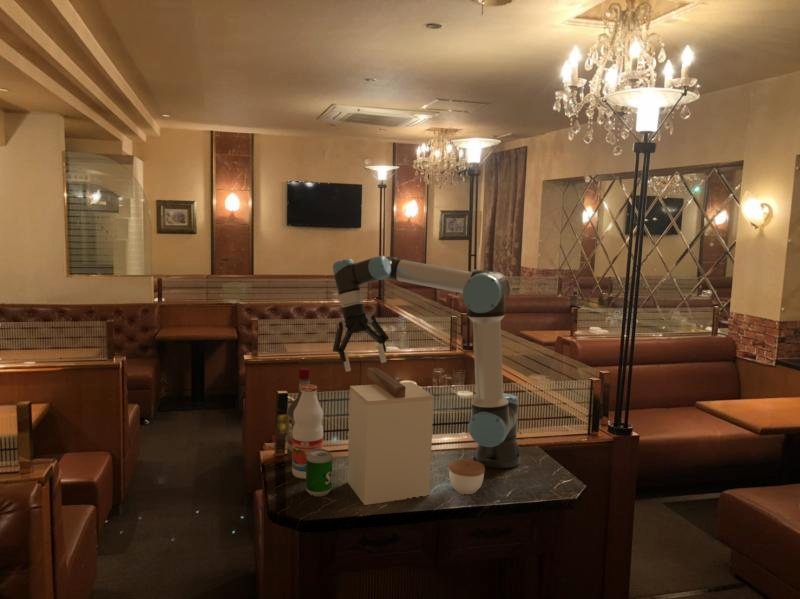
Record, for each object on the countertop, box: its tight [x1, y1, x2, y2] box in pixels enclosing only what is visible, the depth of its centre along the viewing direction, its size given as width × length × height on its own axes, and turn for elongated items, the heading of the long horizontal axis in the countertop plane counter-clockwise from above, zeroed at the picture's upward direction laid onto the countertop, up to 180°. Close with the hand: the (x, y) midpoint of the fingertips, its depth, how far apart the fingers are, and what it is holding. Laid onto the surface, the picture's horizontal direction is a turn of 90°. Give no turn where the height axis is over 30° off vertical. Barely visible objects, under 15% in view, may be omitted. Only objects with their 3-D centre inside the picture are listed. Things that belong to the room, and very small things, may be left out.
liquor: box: [286, 367, 311, 460], centre depth 205 cm, size 9×9×30 cm
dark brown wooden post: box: [366, 366, 406, 398], centre depth 185 cm, size 3×24×3 cm, turn 22°
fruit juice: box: [291, 383, 324, 480], centre depth 192 cm, size 9×9×28 cm
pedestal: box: [346, 381, 435, 506], centre depth 182 cm, size 20×16×30 cm
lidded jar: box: [448, 458, 486, 495], centre depth 185 cm, size 11×11×9 cm
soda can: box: [305, 448, 334, 497], centre depth 180 cm, size 8×8×12 cm
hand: (366, 366), depth 207 cm, fingers open, 13 cm apart
